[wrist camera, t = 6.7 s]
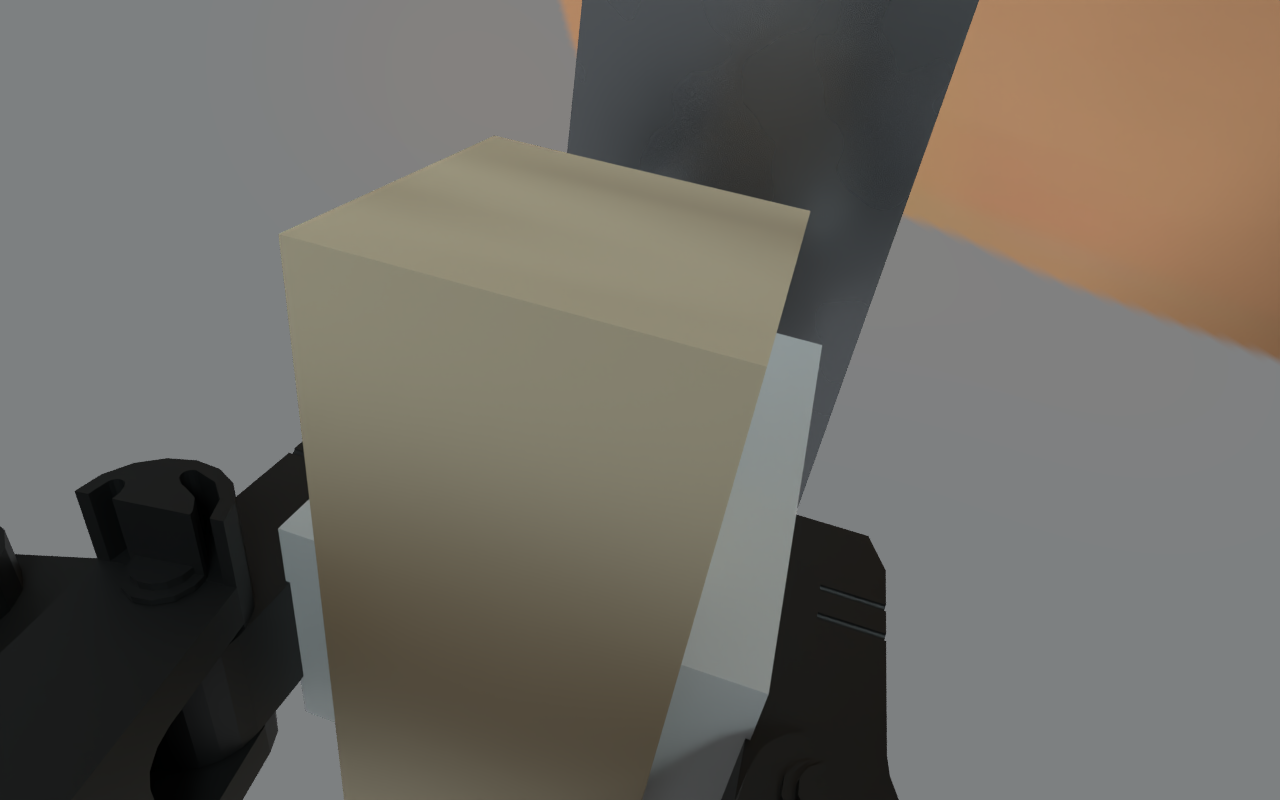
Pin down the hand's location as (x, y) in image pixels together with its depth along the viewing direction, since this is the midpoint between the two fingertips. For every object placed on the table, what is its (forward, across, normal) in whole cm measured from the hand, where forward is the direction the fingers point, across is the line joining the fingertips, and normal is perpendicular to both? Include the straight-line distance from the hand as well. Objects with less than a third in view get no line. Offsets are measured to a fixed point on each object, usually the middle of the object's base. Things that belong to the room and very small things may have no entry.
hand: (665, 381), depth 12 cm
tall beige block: (+3, 0, +1) cm, 3 cm away
